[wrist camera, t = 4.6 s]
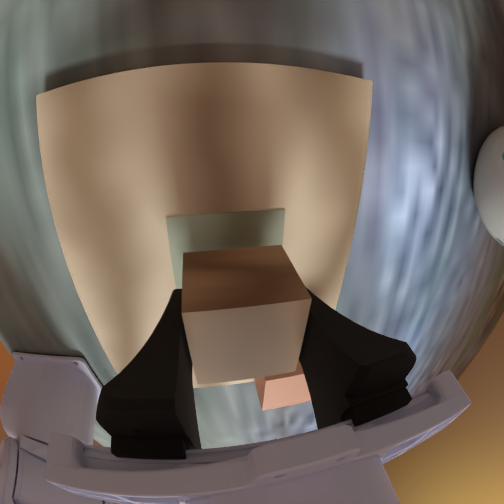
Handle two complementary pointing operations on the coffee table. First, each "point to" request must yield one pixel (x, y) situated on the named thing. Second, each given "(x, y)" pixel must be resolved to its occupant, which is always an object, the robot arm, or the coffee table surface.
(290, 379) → the terracotta block
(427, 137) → the coffee table surface
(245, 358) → the walnut block
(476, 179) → the vase
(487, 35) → the coffee table surface
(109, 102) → the birch board
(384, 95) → the coffee table surface
